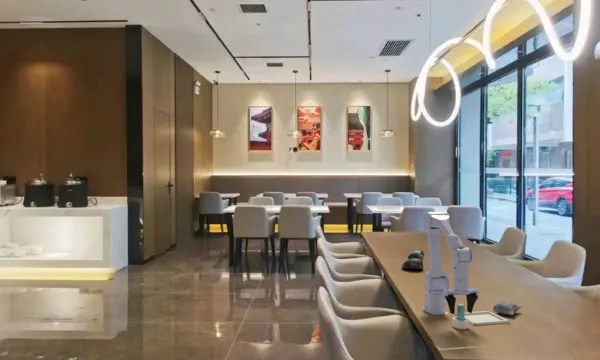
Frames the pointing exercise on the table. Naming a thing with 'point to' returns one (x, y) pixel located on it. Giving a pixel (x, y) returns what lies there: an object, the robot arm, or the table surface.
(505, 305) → the packaged food
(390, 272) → the table surface
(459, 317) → the dowel
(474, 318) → the tray
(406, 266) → the grey stacked sacks
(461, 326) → the bowl
